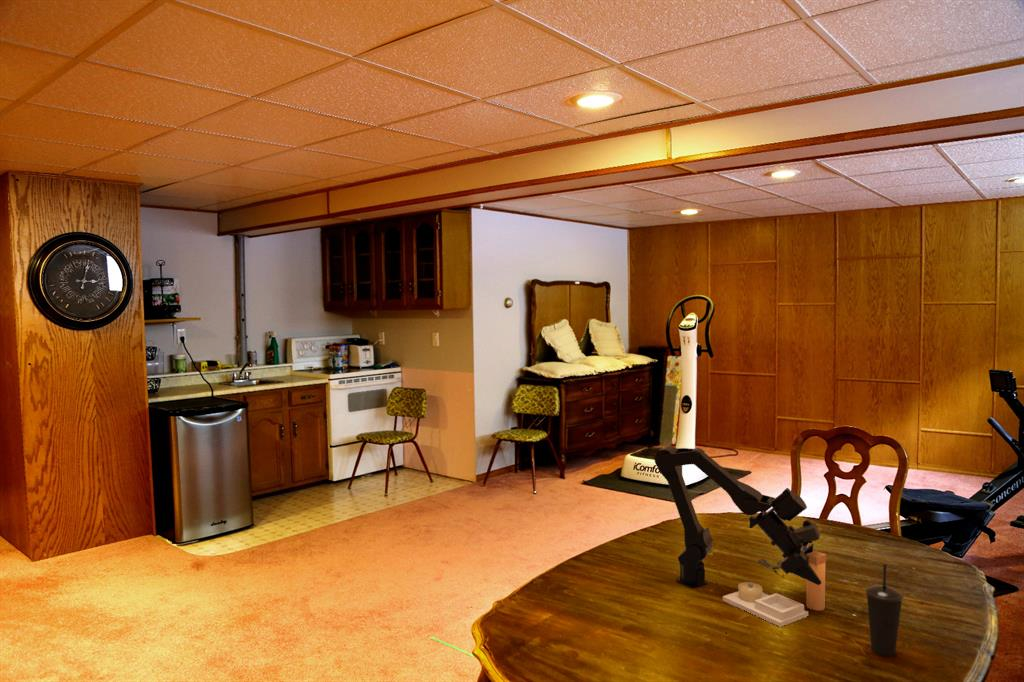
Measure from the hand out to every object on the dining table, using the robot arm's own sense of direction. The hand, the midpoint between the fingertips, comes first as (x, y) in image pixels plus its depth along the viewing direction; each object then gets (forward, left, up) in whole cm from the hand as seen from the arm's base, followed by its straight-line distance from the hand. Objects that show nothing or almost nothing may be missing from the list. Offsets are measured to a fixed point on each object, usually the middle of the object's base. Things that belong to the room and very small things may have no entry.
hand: (821, 579), depth 181 cm
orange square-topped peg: (-1, -1, -8) cm, 8 cm away
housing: (-8, -13, -8) cm, 17 cm away
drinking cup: (+21, -8, -8) cm, 24 cm away
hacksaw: (-18, +14, -8) cm, 24 cm away
